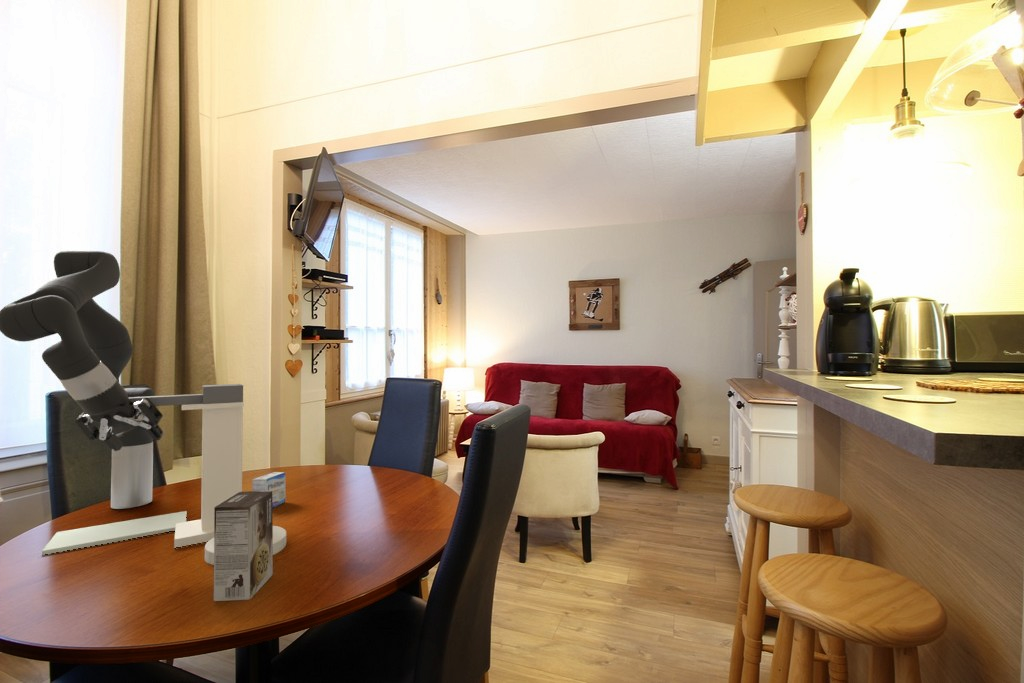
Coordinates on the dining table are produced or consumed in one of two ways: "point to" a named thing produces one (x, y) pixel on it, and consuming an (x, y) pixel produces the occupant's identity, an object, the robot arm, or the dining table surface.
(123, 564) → the dining table surface
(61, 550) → the mat
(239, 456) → the white flanged bar
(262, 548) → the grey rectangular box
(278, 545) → the roll of tape
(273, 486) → the medicine box
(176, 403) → the gray flanged block
